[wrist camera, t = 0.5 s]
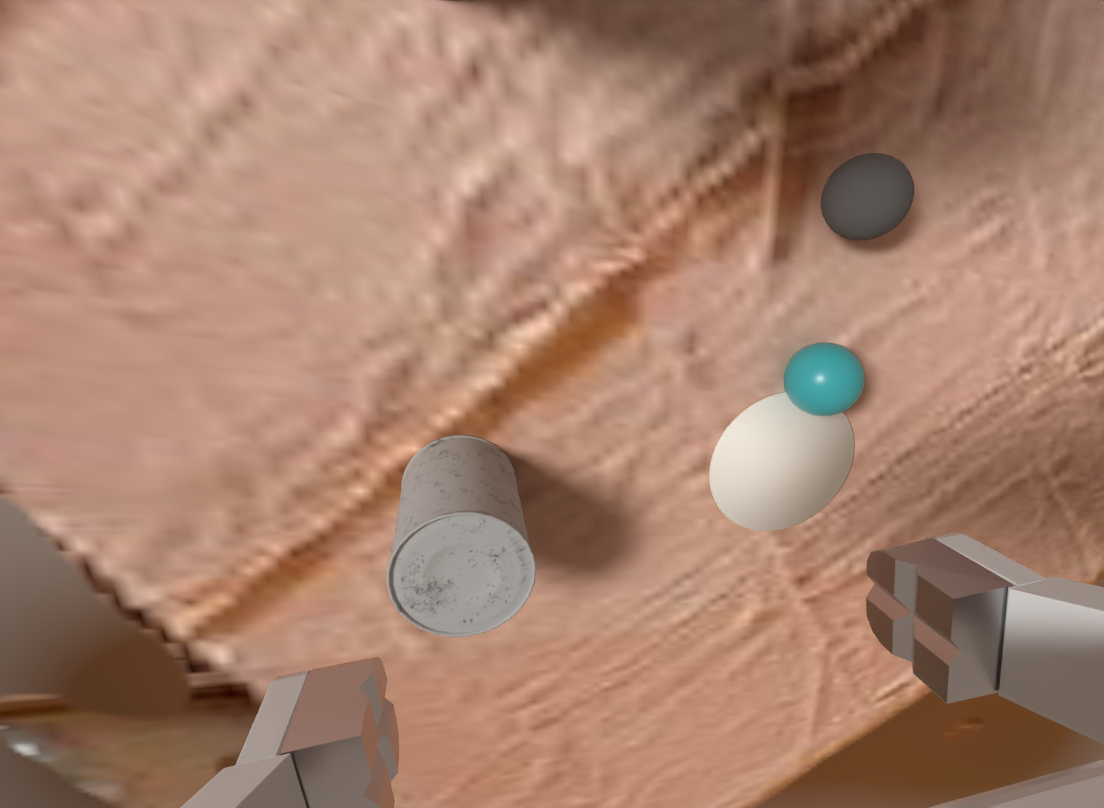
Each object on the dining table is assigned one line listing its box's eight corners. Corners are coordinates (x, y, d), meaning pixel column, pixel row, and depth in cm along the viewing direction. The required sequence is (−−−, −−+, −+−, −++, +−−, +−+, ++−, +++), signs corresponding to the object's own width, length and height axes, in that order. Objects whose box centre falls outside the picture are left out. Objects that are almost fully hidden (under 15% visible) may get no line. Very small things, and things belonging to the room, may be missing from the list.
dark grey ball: (814, 152, 44) (866, 147, 39) (884, 158, 45) (945, 154, 40) (797, 234, 46) (844, 241, 41) (865, 238, 47) (920, 245, 42)
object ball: (777, 333, 49) (819, 352, 44) (842, 335, 50) (891, 354, 45) (764, 401, 51) (802, 427, 46) (826, 401, 52) (871, 427, 47)
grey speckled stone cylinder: (408, 428, 47) (394, 506, 35) (525, 441, 49) (548, 519, 37) (395, 531, 50) (379, 634, 38) (506, 540, 52) (522, 640, 40)
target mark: (723, 389, 50) (724, 390, 50) (869, 392, 52) (870, 392, 52) (697, 531, 55) (698, 532, 55) (833, 527, 57) (834, 529, 57)
